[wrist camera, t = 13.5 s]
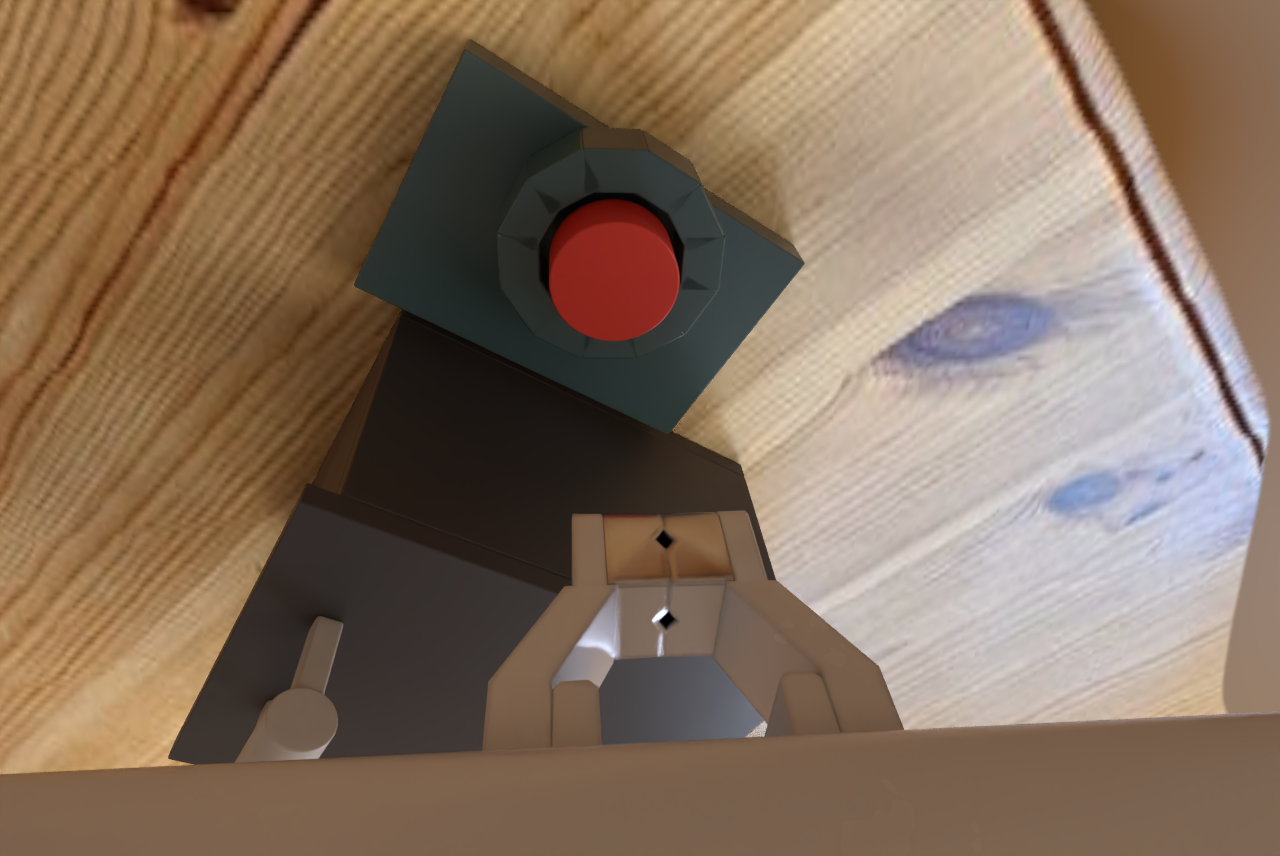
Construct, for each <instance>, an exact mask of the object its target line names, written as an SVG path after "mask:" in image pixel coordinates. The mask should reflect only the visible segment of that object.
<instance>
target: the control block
mask: <svg viewBox="0 0 1280 856" xmlns="http://www.w3.org/2000/svg"><path fill="white" fill-rule="evenodd" d="M603 199H621V200H626V201H630V202H633V203H636V204H638V205H640V206H642V207H644V208H646V209H647V210H649V211H650V212H652V213H653V214H654V215H655V216H656V217H657V218H658V219H659V220H660V222H661V223H662V224H663V226H664V227H665V229H666V231H667V233H668V235H669V238H670V241H671V244H672V247H673V251H674V254H675V257H676V261H677V264H678V268H679V275H680V285H679V291H678V295H677V298H676V301H675V303H674V305H673V307H672V309H671V310H670V312H669V313H668V315H667V316H666V317H665V318H664V319H663V320H662V321H661V322H660V323H659V324H658V325H657V326H656V327H654V328H653V329H652V330H650V331H648V332H647V333H645V334H643V335H640V336H638V337H635V338H632V339H628V340H622V341H604V340H598V339H595V338H591V337H588V336H586V335H584V334H582V333H580V332H578V331H576V330H575V329H574V328H572V327H571V326H570V325H568V324H567V323H566V322H565V321H564V320H563V318H562V317H561V316H560V314H559V313H558V311H557V310H556V308H555V306H554V304H553V301H552V299H551V294H550V289H549V255H550V247H551V243H552V240H553V237H554V235H555V233H556V231H557V229H558V227H559V226H560V224H561V223H562V222H563V221H564V220H565V219H566V217H567V216H569V215H570V214H571V213H572V212H573V211H575V210H576V209H578V208H580V207H581V206H584V205H586V204H588V203H591V202H594V201H598V200H603ZM803 265H804V261H803V260H802V258H801V256H800V255H799V253H798V251H797V250H796V248H795V247H794V245H793V244H791V243H790V242H788V241H787V240H785V239H784V238H782V237H780V236H779V235H777V234H776V233H774V232H773V231H771V230H769V229H768V228H766V227H765V226H763V225H762V224H760V223H758V222H757V221H755V220H754V219H752V218H751V217H749V216H747V215H746V214H744V213H743V212H741V211H740V210H738V209H736V208H735V207H733V206H732V205H730V204H729V203H727V202H725V201H724V200H722V199H721V198H719V197H718V196H716V195H714V194H713V193H711V192H710V191H708V190H707V189H705V188H704V187H703V185H702V183H701V181H700V179H699V177H698V175H697V172H696V170H695V168H694V166H693V164H692V163H691V162H690V160H688V159H687V158H685V157H684V156H682V155H681V154H679V153H678V152H676V151H675V150H673V149H671V148H670V147H668V146H667V145H665V144H664V143H662V142H661V141H659V140H658V139H656V138H655V137H653V136H651V135H650V134H648V133H647V132H645V131H643V130H642V131H641V129H620V128H609V127H608V126H606V125H605V124H603V123H601V122H600V121H598V120H597V119H595V118H594V117H592V116H590V115H589V114H587V113H586V112H584V111H583V110H581V109H579V108H578V107H576V106H575V105H573V104H572V103H570V102H568V101H567V100H565V99H564V98H562V97H561V96H559V95H557V94H556V93H554V92H553V91H551V90H550V89H548V88H546V87H545V86H543V85H542V84H540V83H539V82H537V81H535V80H534V79H532V78H531V77H529V76H528V75H526V74H524V73H523V72H521V71H520V70H518V69H517V68H515V67H513V66H512V65H510V64H509V63H507V62H506V61H504V60H502V59H501V58H499V57H498V56H496V55H495V54H493V53H491V52H490V51H488V50H487V49H485V48H484V47H482V46H480V45H479V44H477V43H476V42H474V41H473V40H469V41H468V43H467V45H466V47H465V49H464V51H463V53H462V55H461V57H460V60H459V62H458V64H457V66H456V68H455V70H454V72H453V74H452V77H451V79H450V81H449V83H448V85H447V87H446V89H445V91H444V94H443V96H442V98H441V100H440V102H439V104H438V106H437V108H436V111H435V113H434V115H433V117H432V119H431V121H430V123H429V126H428V128H427V130H426V132H425V134H424V136H423V138H422V140H421V143H420V145H419V147H418V149H417V151H416V153H415V155H414V157H413V160H412V162H411V164H410V166H409V168H408V170H407V172H406V174H405V177H404V179H403V181H402V183H401V185H400V187H399V189H398V191H397V194H396V196H395V198H394V200H393V202H392V204H391V206H390V208H389V211H388V213H387V215H386V217H385V219H384V221H383V223H382V226H381V228H380V230H379V232H378V234H377V236H376V238H375V240H374V243H373V245H372V247H371V249H370V251H369V253H368V255H367V257H366V260H365V262H364V264H363V266H362V268H361V270H360V272H359V274H358V277H357V279H356V281H355V283H354V286H355V287H357V288H359V289H361V290H363V291H365V292H368V293H370V294H372V295H374V296H376V297H378V298H380V299H382V300H384V301H387V302H389V303H391V304H393V305H395V306H397V307H399V308H401V309H404V310H406V311H408V312H410V313H412V314H414V315H416V316H418V317H420V318H423V319H425V320H427V321H429V322H431V323H433V324H435V325H437V326H439V327H442V328H444V329H446V330H448V331H450V332H452V333H454V334H456V335H458V336H461V337H463V338H465V339H467V340H469V341H471V342H473V343H475V344H477V345H480V346H482V347H484V348H486V349H488V350H490V351H492V352H494V353H496V354H499V355H501V356H503V357H505V358H507V359H509V360H511V361H513V362H515V363H518V364H520V365H522V366H524V367H526V368H528V369H530V370H532V371H534V372H537V373H539V374H541V375H543V376H545V377H547V378H549V379H551V380H553V381H556V382H558V383H560V384H562V385H564V386H566V387H568V388H570V389H572V390H575V391H577V392H579V393H581V394H583V395H585V396H587V397H589V398H591V399H594V400H596V401H598V402H600V403H602V404H604V405H606V406H608V407H610V408H613V409H615V410H617V411H619V412H621V413H623V414H625V415H627V416H629V417H632V418H634V419H636V420H638V421H640V422H642V423H644V424H646V425H648V426H651V427H653V428H655V429H657V430H659V431H661V432H663V433H665V434H669V433H670V432H671V430H672V429H673V428H674V427H675V425H676V424H677V423H678V422H679V420H680V419H681V418H682V417H683V415H684V414H685V413H686V412H687V410H688V409H689V408H690V407H691V405H692V404H693V403H694V402H695V400H696V399H697V398H698V397H699V395H700V394H701V393H702V392H703V390H704V389H705V388H706V387H707V385H708V384H709V383H710V382H711V380H712V379H713V378H714V377H715V375H716V374H717V373H718V372H719V370H720V369H721V368H722V366H723V365H724V364H725V363H726V361H727V360H728V359H729V358H730V356H731V355H732V354H733V353H734V351H735V350H736V349H737V348H738V346H739V345H740V344H741V343H742V341H743V340H744V339H745V338H746V336H747V335H748V334H749V333H750V331H751V330H752V329H753V328H754V326H755V325H756V324H757V323H758V321H759V320H760V319H761V318H762V316H763V315H764V314H765V313H766V311H767V310H768V309H769V308H770V306H771V305H772V304H773V303H774V301H775V300H776V299H777V298H778V296H779V295H780V294H781V293H782V291H783V290H784V289H785V288H786V286H787V285H788V284H789V283H790V281H791V280H792V279H793V278H794V276H795V275H796V274H797V273H798V271H799V270H800V269H801V268H802V266H803Z"/></svg>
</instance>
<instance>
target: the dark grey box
mask: <svg viewBox="0 0 1280 856" xmlns="http://www.w3.org/2000/svg"><path fill="white" fill-rule="evenodd" d="M312 485H314V486H317V487H320V488H322V489H325V490H328V491H331V492H333V493H336V494H339V495H342V496H344V497H347V498H350V499H352V500H355V501H358V502H361V503H363V504H366V505H369V506H371V507H374V508H377V509H380V510H382V511H385V512H388V513H390V514H393V515H396V516H399V517H401V518H404V519H407V520H410V521H412V522H415V523H418V524H420V525H423V526H426V527H429V528H431V529H434V530H437V531H439V532H442V533H445V534H448V535H450V536H453V537H456V538H459V539H461V540H464V541H467V542H469V543H472V544H475V545H478V546H480V547H483V548H486V549H488V550H491V551H494V552H497V553H499V554H502V555H505V556H507V557H510V558H513V559H516V560H518V561H521V562H524V563H527V564H529V565H532V566H535V567H537V568H540V569H543V570H546V571H548V572H551V573H554V574H556V575H559V576H562V577H565V578H567V579H570V580H572V514H603V513H643V514H659V513H692V512H717V511H746V512H747V513H748V515H749V518H750V521H751V525H752V528H753V531H754V535H755V538H756V541H757V545H758V548H759V552H760V555H761V558H762V562H763V565H764V568H765V572H766V575H767V578H768V580H776V578H775V575H774V572H773V569H772V565H771V562H770V559H769V556H768V552H767V549H766V546H765V543H764V539H763V536H762V533H761V529H760V526H759V523H758V520H757V516H756V513H755V510H754V507H753V503H752V500H751V497H750V494H749V490H748V487H747V484H746V481H745V478H744V474H743V471H742V467H741V465H740V464H738V463H736V462H734V461H731V460H729V459H727V458H725V457H723V456H721V455H719V454H717V453H715V452H713V451H710V450H708V449H706V448H704V447H702V446H700V445H698V444H696V443H694V442H692V441H690V440H687V439H685V438H683V437H681V436H679V435H677V434H675V433H673V432H670V433H669V434H665V433H663V432H661V431H659V430H657V429H655V428H653V427H651V426H648V425H646V424H644V423H642V422H640V421H638V420H636V419H634V418H632V417H629V416H627V415H625V414H623V413H621V412H619V411H617V410H615V409H613V408H610V407H608V406H606V405H604V404H602V403H600V402H598V401H596V400H594V399H591V398H589V397H587V396H585V395H583V394H581V393H579V392H577V391H575V390H572V389H570V388H568V387H566V386H564V385H562V384H560V383H558V382H556V381H553V380H551V379H549V378H547V377H545V376H543V375H541V374H539V373H537V372H534V371H532V370H530V369H528V368H526V367H524V366H522V365H520V364H518V363H515V362H513V361H511V360H509V359H507V358H505V357H503V356H501V355H499V354H496V353H494V352H492V351H490V350H488V349H486V348H484V347H482V346H480V345H477V344H475V343H473V342H471V341H469V340H467V339H465V338H463V337H461V336H458V335H456V334H454V333H452V332H450V331H448V330H446V329H444V328H442V327H439V326H437V325H435V324H433V323H431V322H429V321H427V320H425V319H423V318H420V317H418V316H416V315H414V314H412V313H410V312H408V311H406V310H404V309H402V310H401V312H400V314H399V316H398V318H397V320H396V321H395V323H394V325H393V327H392V329H391V331H390V333H389V335H388V337H387V339H386V341H385V343H384V345H383V347H382V349H381V351H380V352H379V354H378V356H377V358H376V360H375V362H374V364H373V366H372V368H371V370H370V372H369V374H368V376H367V378H366V380H365V382H364V383H363V385H362V387H361V389H360V391H359V393H358V395H357V397H356V399H355V401H354V403H353V405H352V407H351V409H350V411H349V413H348V415H347V416H346V418H345V420H344V422H343V424H342V426H341V428H340V430H339V432H338V434H337V436H336V438H335V440H334V442H333V444H332V446H331V447H330V449H329V451H328V453H327V455H326V457H325V459H324V461H323V463H322V465H321V467H320V469H319V471H318V473H317V475H316V477H315V478H314V480H313V482H312Z"/></svg>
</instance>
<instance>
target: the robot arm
mask: <svg viewBox="0 0 1280 856" xmlns="http://www.w3.org/2000/svg"><path fill="white" fill-rule="evenodd" d="M685 656H713V659H714V660H715V662H716V663H717V664H718V665H719V666H720V668H721V669H722V670H723V671H724V672H725V674H726V675H727V676H728V677H729V678H730V680H731V681H732V682H733V683H734V684H735V686H736V687H737V688H738V689H739V690H740V692H741V693H742V694H743V695H744V696H745V698H746V699H747V700H748V701H749V702H750V704H751V705H752V706H753V707H754V708H755V710H756V711H757V712H758V713H759V714H760V716H761V717H762V718H763V719H764V720H765V722H766V723H767V724H768V726H767V729H766V733H765V737H749V738H729V739H708V740H688V741H667V742H647V743H626V744H606V745H602V737H601V721H600V705H599V687H600V686H601V684H602V682H603V680H604V679H605V677H606V675H607V673H608V672H609V670H610V668H611V666H612V664H613V660H620V659H636V658H651V657H685ZM0 856H1280V712H1261V713H1240V714H1219V715H1199V716H1178V717H1158V718H1138V719H1117V720H1097V721H1077V722H1056V723H1035V724H1015V725H994V726H973V727H953V728H932V729H912V730H904V728H903V725H902V723H901V720H900V718H899V715H898V713H897V710H896V708H895V705H894V703H893V700H892V698H891V695H890V693H889V690H888V688H887V685H886V683H885V680H884V678H883V675H882V672H881V670H880V667H879V666H878V665H877V664H875V663H874V662H873V661H872V660H871V659H869V658H868V657H867V656H866V655H865V654H864V653H862V652H861V651H860V650H859V649H858V648H856V647H855V646H854V645H853V644H852V643H850V642H849V641H848V640H847V639H846V638H844V637H843V636H842V635H841V634H840V633H839V632H837V631H836V630H835V629H834V628H833V627H831V626H830V625H829V624H828V623H827V622H825V621H824V620H823V619H822V618H821V617H820V616H818V615H817V614H816V613H815V612H814V611H812V610H811V609H810V608H809V607H808V606H806V605H805V604H804V603H803V602H802V601H801V600H799V599H798V598H797V597H796V596H795V595H793V594H792V593H791V592H790V591H789V590H787V589H786V588H785V587H784V586H783V585H782V584H780V583H779V582H778V581H777V580H768V578H767V575H766V572H765V568H764V565H763V562H762V558H761V555H760V552H759V548H758V545H757V541H756V538H755V535H754V531H753V528H752V525H751V521H750V518H749V515H748V513H747V512H746V511H717V512H692V513H659V514H643V513H603V514H572V586H564V588H563V589H562V590H561V591H560V593H559V594H558V595H557V596H556V598H555V599H554V600H553V601H552V603H551V604H550V605H549V606H548V608H547V609H546V610H545V611H544V613H543V614H542V615H541V616H540V618H539V619H538V620H537V621H536V623H535V624H534V625H533V626H532V628H531V629H530V630H529V631H528V633H527V634H526V635H525V636H524V638H523V639H522V640H521V641H520V643H519V644H518V645H517V646H516V648H515V649H514V650H513V651H512V653H511V654H510V655H509V656H508V658H507V659H506V660H505V661H504V663H503V664H502V665H501V666H500V668H499V669H498V670H497V671H496V673H495V674H494V675H493V676H492V678H491V679H490V680H489V681H488V691H487V702H486V713H485V724H484V735H483V746H482V751H463V752H443V753H423V754H402V755H382V756H362V757H341V758H321V759H301V760H280V761H260V762H240V763H220V764H200V765H179V766H159V767H139V768H119V769H99V770H79V771H58V772H38V773H18V774H0Z"/></svg>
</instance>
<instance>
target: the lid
mask: <svg viewBox="0 0 1280 856" xmlns="http://www.w3.org/2000/svg"><path fill="white" fill-rule="evenodd" d="M564 586H572V580H570V579H567V578H565V577H562V576H559V575H556V574H554V573H551V572H548V571H546V570H543V569H540V568H537V567H535V566H532V565H529V564H527V563H524V562H521V561H518V560H516V559H513V558H510V557H507V556H505V555H502V554H499V553H497V552H494V551H491V550H488V549H486V548H483V547H480V546H478V545H475V544H472V543H469V542H467V541H464V540H461V539H459V538H456V537H453V536H450V535H448V534H445V533H442V532H439V531H437V530H434V529H431V528H429V527H426V526H423V525H420V524H418V523H415V522H412V521H410V520H407V519H404V518H401V517H399V516H396V515H393V514H390V513H388V512H385V511H382V510H380V509H377V508H374V507H371V506H369V505H366V504H363V503H361V502H358V501H355V500H352V499H350V498H347V497H344V496H342V495H339V494H336V493H333V492H331V491H328V490H325V489H322V488H320V487H317V486H314V485H312V484H306V485H305V487H304V489H303V491H302V493H301V495H300V497H299V499H298V501H297V503H296V505H295V507H294V509H293V511H292V513H291V515H290V517H289V519H288V520H287V522H286V524H285V526H284V528H283V530H282V532H281V534H280V536H279V538H278V540H277V542H276V544H275V546H274V548H273V550H272V552H271V554H270V556H269V558H268V560H267V562H266V564H265V565H264V567H263V569H262V571H261V573H260V575H259V577H258V579H257V581H256V583H255V585H254V587H253V589H252V591H251V593H250V595H249V597H248V599H247V601H246V603H245V605H244V607H243V609H242V611H241V612H240V614H239V616H238V618H237V620H236V622H235V624H234V626H233V628H232V630H231V632H230V634H229V636H228V638H227V640H226V642H225V644H224V646H223V648H222V650H221V652H220V654H219V656H218V657H217V659H216V661H215V663H214V665H213V667H212V669H211V671H210V673H209V675H208V677H207V679H206V681H205V683H204V685H203V687H202V689H201V691H200V693H199V695H198V697H197V699H196V701H195V702H194V704H193V706H192V708H191V710H190V712H189V714H188V716H187V718H186V720H185V722H184V724H183V726H182V728H181V730H180V732H179V734H178V736H177V738H176V740H175V742H174V744H173V747H172V749H171V751H170V754H169V756H168V759H171V760H176V761H181V762H185V763H190V764H194V765H200V764H220V763H240V762H260V761H280V760H301V759H321V758H341V757H362V756H382V755H402V754H423V753H443V752H463V751H482V746H483V735H484V724H485V713H486V702H487V691H488V681H489V680H490V679H491V678H492V676H493V675H494V674H495V673H496V671H497V670H498V669H499V668H500V666H501V665H502V664H503V663H504V661H505V660H506V659H507V658H508V656H509V655H510V654H511V653H512V651H513V650H514V649H515V648H516V646H517V645H518V644H519V643H520V641H521V640H522V639H523V638H524V636H525V635H526V634H527V633H528V631H529V630H530V629H531V628H532V626H533V625H534V624H535V623H536V621H537V620H538V619H539V618H540V616H541V615H542V614H543V613H544V611H545V610H546V609H547V608H548V606H549V605H550V604H551V603H552V601H553V600H554V599H555V598H556V596H557V595H558V594H559V593H560V591H561V590H562V589H563V588H564ZM599 705H600V721H601V737H602V745H606V744H626V743H647V742H667V741H688V740H708V739H729V738H745V737H746V736H747V735H748V734H749V733H751V732H752V731H753V730H754V729H755V728H756V727H758V726H759V725H760V724H761V723H762V722H763V721H764V719H763V718H762V717H761V716H760V714H759V713H758V712H757V711H756V710H755V708H754V707H753V706H752V705H751V704H750V702H749V701H748V700H747V699H746V698H745V696H744V695H743V694H742V693H741V692H740V690H739V689H738V688H737V687H736V686H735V684H734V683H733V682H732V681H731V680H730V678H729V677H728V676H727V675H726V674H725V672H724V671H723V670H722V669H721V668H720V666H719V665H718V664H717V663H716V662H715V660H714V659H713V656H685V657H651V658H636V659H620V660H613V664H612V666H611V668H610V670H609V672H608V673H607V675H606V677H605V679H604V680H603V682H602V684H601V686H600V687H599Z"/></svg>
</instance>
